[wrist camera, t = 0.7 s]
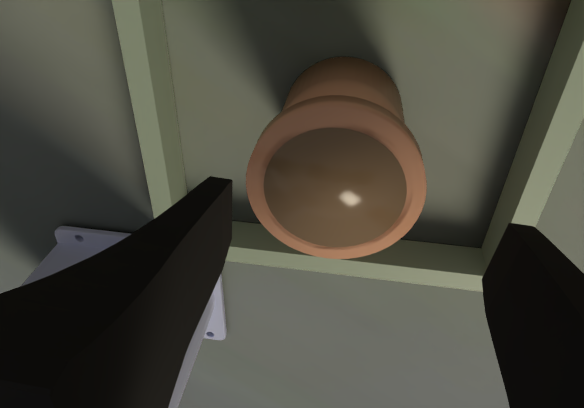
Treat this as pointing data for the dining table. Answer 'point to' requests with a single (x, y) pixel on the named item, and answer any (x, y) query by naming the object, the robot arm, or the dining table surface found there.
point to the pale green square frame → (404, 253)
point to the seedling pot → (338, 164)
